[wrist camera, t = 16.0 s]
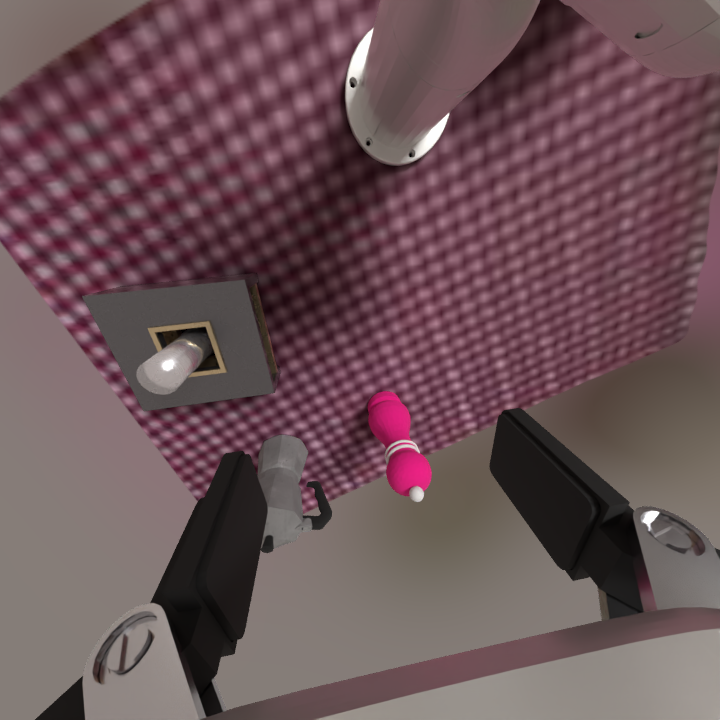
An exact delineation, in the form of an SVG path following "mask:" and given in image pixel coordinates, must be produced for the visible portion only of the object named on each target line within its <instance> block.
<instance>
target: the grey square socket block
mask: <svg viewBox="0 0 720 720" xmlns="http://www.w3.org/2000/svg"><path fill="white" fill-rule="evenodd" d="M257 282H259V280H258V276H257V273H249V274H240V275H230V276H220V277H210V278H200V279H190V280H180V281H170V282H160V283H151V284H141V285H131V286H121V287H117V288H113V289H109V290H105V291H101V292H97V293H93V294H89V295H86V296H82V297H83V299H84V301H85V303H86V305H87V307H88V308H89V310H90V312H91V314H92V316H93V318H94V320H95V322H96V323H97V325H98V327H99V329H100V331H101V333H102V335H103V336H104V338H105V340H106V342H107V344H108V346H109V348H110V349H111V351H112V353H113V355H114V357H115V359H116V361H117V362H118V364H119V366H120V368H121V370H122V372H123V374H124V376H125V377H126V379H127V381H128V383H129V385H130V387H131V389H132V390H133V392H134V394H135V396H136V398H137V400H138V402H139V403H140V405H141V407H142V409H143V411H149V410H156V409H163V408H170V407H178V406H185V405H192V404H199V403H207V402H214V401H221V400H228V399H235V398H243V397H250V396H257V395H264V394H271V393H275V390H276V387H277V383H278V380H279V376H280V373H281V371H280V367H279V366H277V365H276V361H275V356H274V352H273V348H272V344H271V340H270V336H269V332H268V328H267V324H266V320H265V316H264V312H263V308H262V304H261V300H260V296H259V291H258V287H257ZM197 327H206V329H207V332H208V335H209V338H210V341H211V344H212V346H213V349H214V352H215V356H209V357H208V358H206V359H205V360H204V361H203V362H202V363H201V364H200V365H199V366H198V367H197V368H196V369H195V371H194V372H193V373H192V374H191V375H190V376H189V377H188V378H187V379H186V380H185V381H184V382H183V383H182V384H181V385H180V386H179V388H178V389H177V390H176V391H174V392H172V393H170V394H165V395H161V394H155V393H152V392H150V391H148V390H146V389H145V388H144V387H143V386H142V385H141V384H140V383H139V381H138V379H137V375H136V373H137V369H138V367H139V366H140V365H141V364H143V363H144V362H145V361H147V360H148V359H150V358H151V357H152V356H154V355H155V354H157V353H158V352H159V351H161V350H162V349H164V348H165V347H166V346H168V345H169V344H171V343H172V342H173V341H175V340H176V339H178V338H179V337H180V336H181V331H180V329H188V328H197Z"/></svg>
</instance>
